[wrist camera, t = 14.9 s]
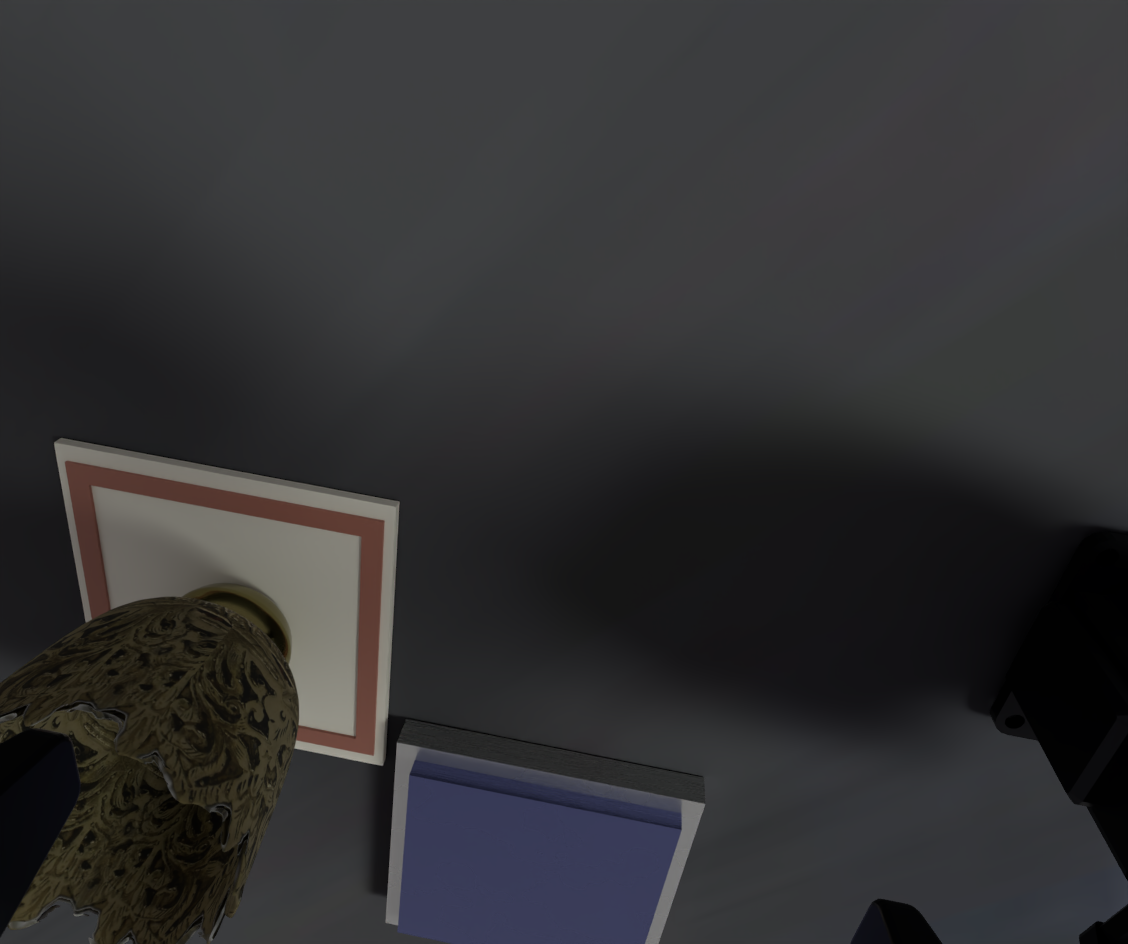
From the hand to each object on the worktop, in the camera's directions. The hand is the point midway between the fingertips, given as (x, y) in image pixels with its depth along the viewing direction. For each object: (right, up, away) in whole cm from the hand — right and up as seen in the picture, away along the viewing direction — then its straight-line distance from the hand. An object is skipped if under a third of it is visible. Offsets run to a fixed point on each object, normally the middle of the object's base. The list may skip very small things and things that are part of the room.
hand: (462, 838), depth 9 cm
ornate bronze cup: (-9, 0, +15) cm, 18 cm away
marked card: (-9, 0, +16) cm, 18 cm away
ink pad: (0, -9, +19) cm, 21 cm away
